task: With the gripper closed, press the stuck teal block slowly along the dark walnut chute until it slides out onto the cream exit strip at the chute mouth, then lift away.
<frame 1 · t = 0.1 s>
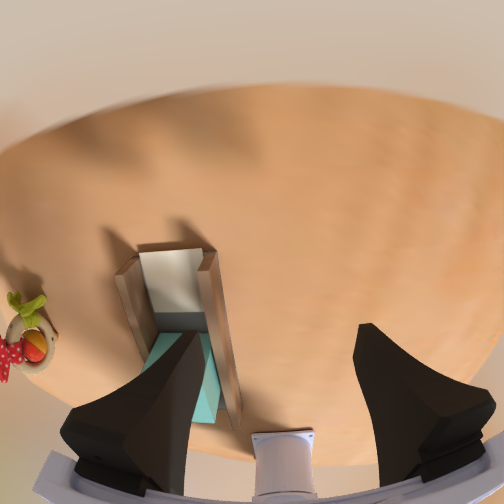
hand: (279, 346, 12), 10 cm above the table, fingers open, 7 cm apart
bird rattle: (47, 315, 25), on the table
chute: (193, 346, 25), on the table
block: (185, 377, 21), point 4 cm above the table, slide at 0.0 cm
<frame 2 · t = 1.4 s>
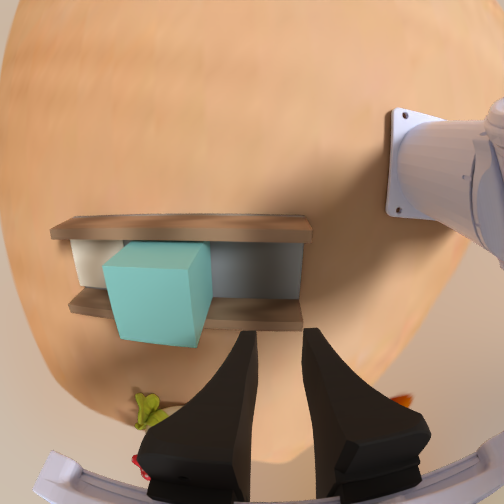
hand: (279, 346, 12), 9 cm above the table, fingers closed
bird rattle: (177, 403, 28), on the table
chute: (177, 260, 21), on the table
block: (165, 284, 17), point 4 cm above the table, slide at 0.0 cm
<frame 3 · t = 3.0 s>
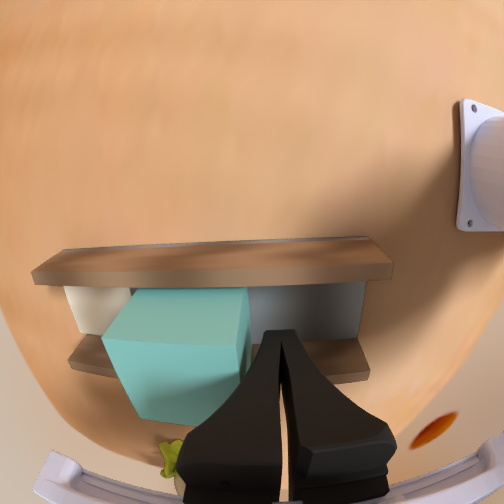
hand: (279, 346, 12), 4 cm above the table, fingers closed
bird rattle: (206, 446, 23), on the table
chute: (202, 301, 16), on the table
block: (192, 344, 12), point 4 cm above the table, slide at 0.0 cm, touching gripper
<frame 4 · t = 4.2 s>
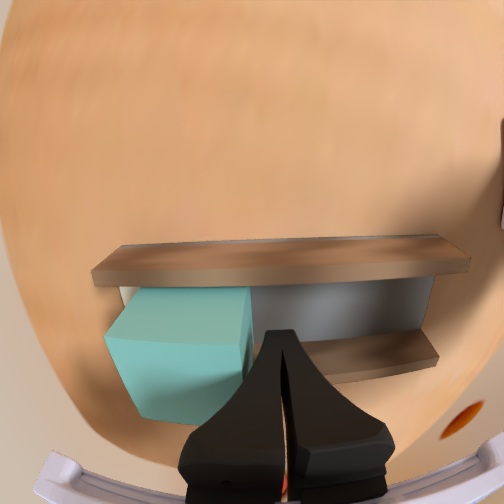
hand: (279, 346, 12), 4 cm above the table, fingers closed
chute: (285, 299, 16), on the table
block: (194, 343, 12), point 4 cm above the table, slide at 4.7 cm, touching gripper
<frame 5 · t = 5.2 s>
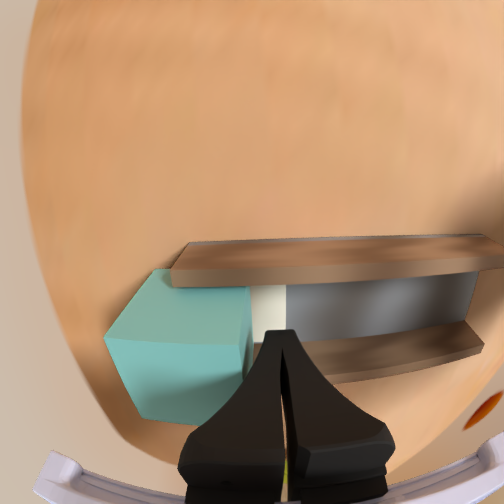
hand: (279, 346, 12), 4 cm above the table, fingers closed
chute: (356, 295, 16), on the table
block: (194, 343, 12), point 4 cm above the table, slide at 8.9 cm, touching gripper
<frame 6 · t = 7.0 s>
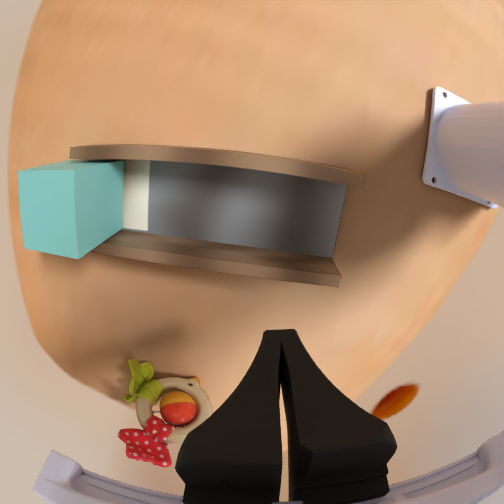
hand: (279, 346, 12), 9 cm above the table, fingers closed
bird rattle: (173, 374, 26), on the table
chute: (207, 200, 19), on the table
block: (72, 201, 15), point 4 cm above the table, slide at 8.9 cm
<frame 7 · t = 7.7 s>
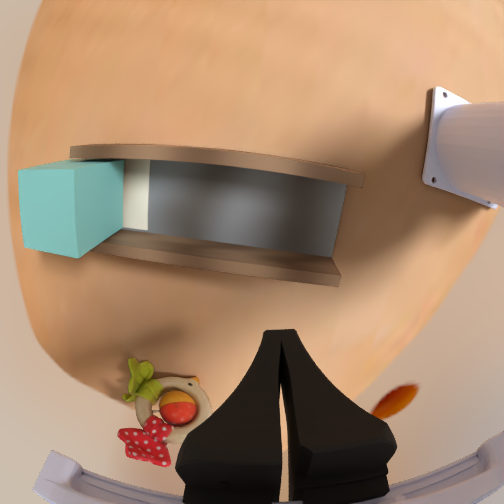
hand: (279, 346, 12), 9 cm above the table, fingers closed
bird rattle: (172, 374, 26), on the table
chute: (207, 199, 19), on the table
block: (72, 200, 15), point 4 cm above the table, slide at 8.9 cm
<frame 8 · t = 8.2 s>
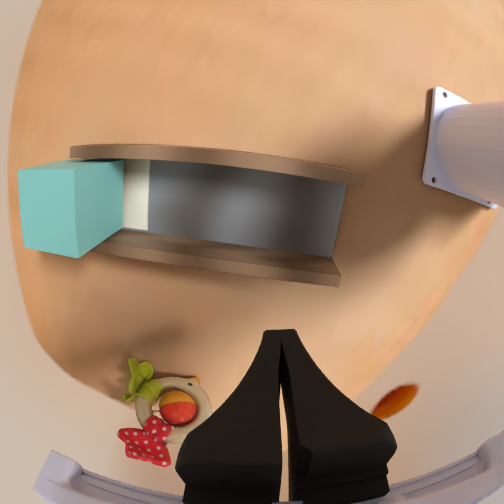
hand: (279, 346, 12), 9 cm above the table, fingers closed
bird rattle: (172, 374, 26), on the table
chute: (207, 199, 19), on the table
block: (72, 200, 15), point 4 cm above the table, slide at 8.9 cm
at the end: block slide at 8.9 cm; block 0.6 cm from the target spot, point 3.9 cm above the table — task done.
